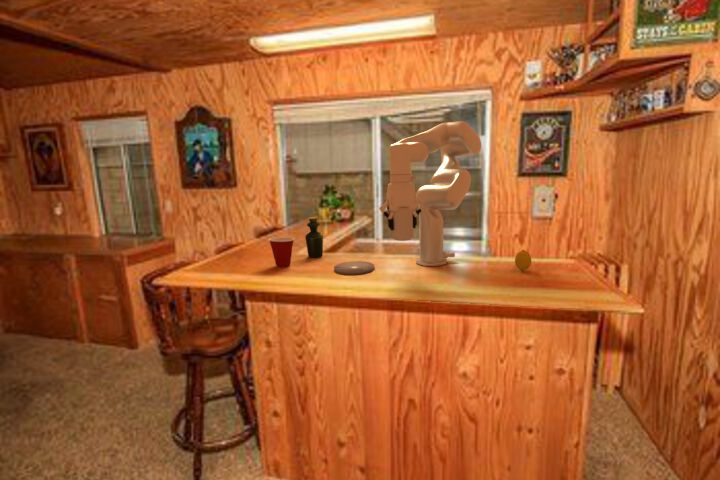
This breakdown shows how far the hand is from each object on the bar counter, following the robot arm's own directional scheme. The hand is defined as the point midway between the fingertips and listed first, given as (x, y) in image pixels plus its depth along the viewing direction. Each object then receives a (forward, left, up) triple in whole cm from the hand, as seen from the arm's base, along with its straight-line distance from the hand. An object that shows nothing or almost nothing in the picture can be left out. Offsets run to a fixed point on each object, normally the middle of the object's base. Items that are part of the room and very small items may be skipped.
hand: (402, 228), depth 141 cm
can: (0, 0, -4) cm, 4 cm away
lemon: (-43, +8, -18) cm, 47 cm away
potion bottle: (+30, -41, -18) cm, 54 cm away
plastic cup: (+44, -29, -18) cm, 56 cm away
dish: (+16, -14, -17) cm, 28 cm away
